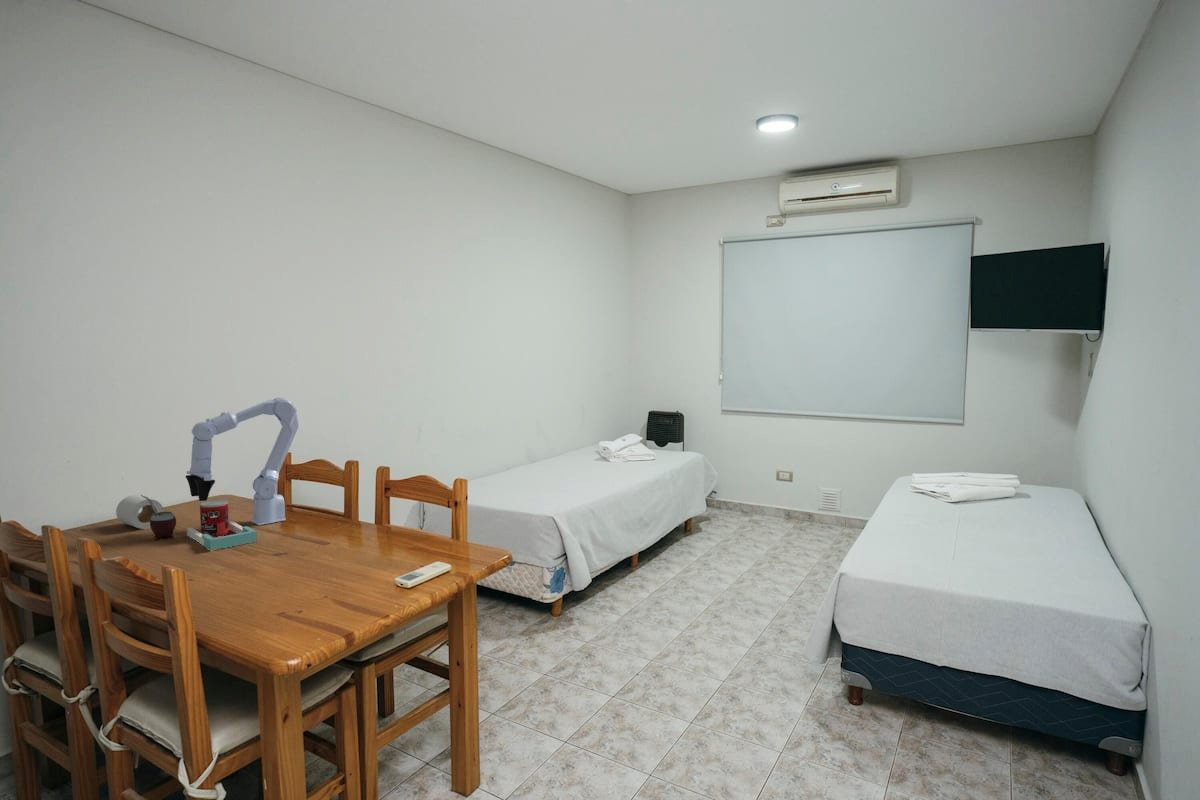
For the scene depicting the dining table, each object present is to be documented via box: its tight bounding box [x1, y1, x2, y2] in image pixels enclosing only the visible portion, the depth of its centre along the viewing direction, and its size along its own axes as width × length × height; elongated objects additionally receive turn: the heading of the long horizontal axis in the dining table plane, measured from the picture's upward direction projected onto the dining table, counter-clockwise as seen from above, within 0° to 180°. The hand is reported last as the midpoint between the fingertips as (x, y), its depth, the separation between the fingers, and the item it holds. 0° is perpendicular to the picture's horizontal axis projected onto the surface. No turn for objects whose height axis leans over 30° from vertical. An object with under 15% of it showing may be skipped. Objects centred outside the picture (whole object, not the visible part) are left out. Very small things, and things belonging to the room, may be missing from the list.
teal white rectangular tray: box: [186, 520, 258, 550], centre depth 215 cm, size 14×22×4 cm, turn 48°
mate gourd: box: [140, 494, 177, 542], centre depth 214 cm, size 8×8×15 cm
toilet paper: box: [115, 494, 164, 530], centre depth 227 cm, size 10×10×10 cm
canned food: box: [199, 499, 230, 537], centre depth 219 cm, size 8×8×11 cm
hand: (199, 498), depth 223 cm, fingers open, 7 cm apart
